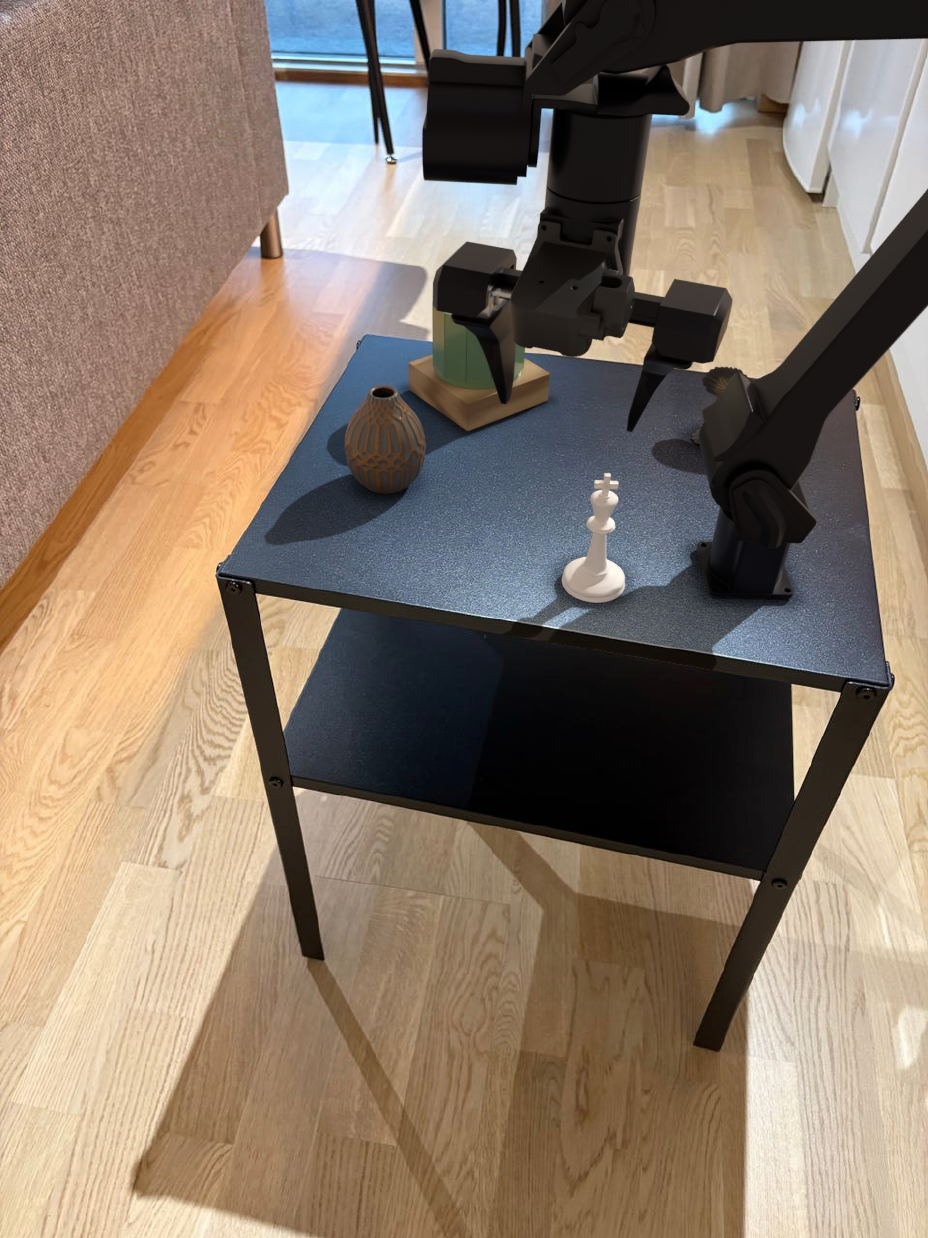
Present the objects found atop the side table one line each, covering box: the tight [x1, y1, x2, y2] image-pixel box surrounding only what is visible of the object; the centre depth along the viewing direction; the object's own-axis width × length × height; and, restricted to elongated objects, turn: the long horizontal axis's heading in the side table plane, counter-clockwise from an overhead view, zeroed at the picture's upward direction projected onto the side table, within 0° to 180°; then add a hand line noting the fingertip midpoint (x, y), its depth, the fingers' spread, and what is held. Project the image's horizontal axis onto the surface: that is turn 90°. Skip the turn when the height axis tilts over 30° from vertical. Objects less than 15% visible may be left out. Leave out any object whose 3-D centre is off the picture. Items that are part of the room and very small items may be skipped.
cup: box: [431, 300, 526, 389], centre depth 95 cm, size 9×9×7 cm
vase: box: [344, 384, 427, 495], centre depth 85 cm, size 7×7×9 cm
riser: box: [407, 354, 551, 432], centre depth 99 cm, size 10×10×3 cm
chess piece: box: [561, 472, 626, 604], centre depth 75 cm, size 5×5×10 cm
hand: (567, 415), depth 71 cm, fingers open, 9 cm apart
